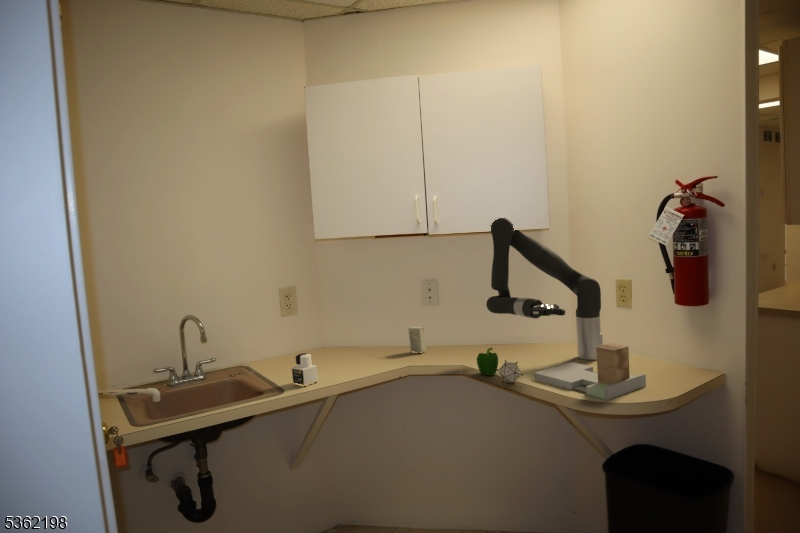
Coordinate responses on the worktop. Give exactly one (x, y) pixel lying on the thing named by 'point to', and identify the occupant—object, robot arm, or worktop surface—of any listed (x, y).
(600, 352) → the walnut block
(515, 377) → the game die
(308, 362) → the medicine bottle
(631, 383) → the board
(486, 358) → the bell pepper
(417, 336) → the skincare box
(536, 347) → the worktop surface
